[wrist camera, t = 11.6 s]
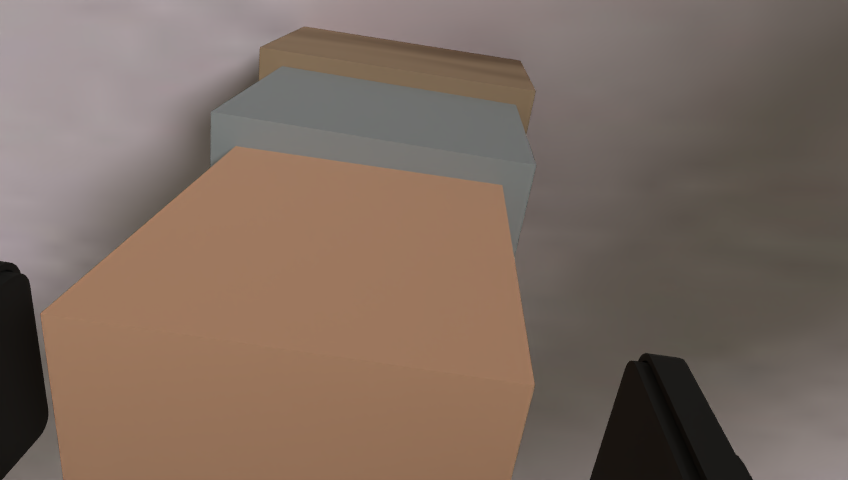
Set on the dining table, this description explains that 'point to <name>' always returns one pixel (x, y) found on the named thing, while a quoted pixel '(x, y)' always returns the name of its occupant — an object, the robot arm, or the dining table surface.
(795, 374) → the dining table surface
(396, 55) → the walnut base block
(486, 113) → the slate top block
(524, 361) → the terracotta block
